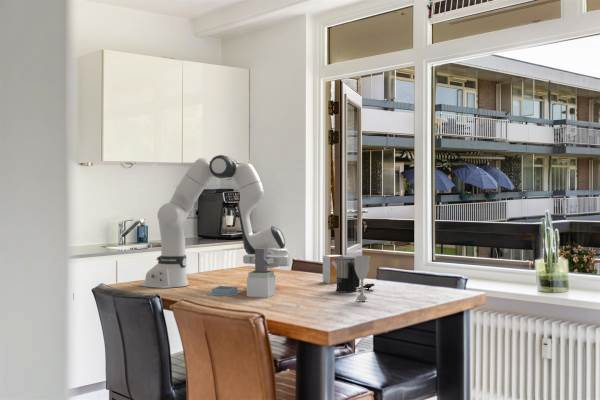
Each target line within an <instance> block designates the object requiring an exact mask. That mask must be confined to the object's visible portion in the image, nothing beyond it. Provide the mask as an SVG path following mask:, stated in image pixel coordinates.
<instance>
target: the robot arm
mask: <svg viewBox="0 0 600 400" xmlns="http://www.w3.org/2000/svg"><path fill="white" fill-rule="evenodd" d="M213 178H216V179H217V178H218V179H219V180H224V181H225V180H226V181H229V180H233V181H234V183H235V184H236V187H237V189H238V192H239V202H238V203H237V213H238V218H239V224H240V229H241V234H242V242H243V249H244V250H245V253H246V254H244V255H243V256H242V257H243V258H242V260H243V264H247V265H255V249H256V248H267V259H265V264H267V269H272V268H273V269H274V268H278V267H288V266H290V257H291V255H290V251H289V250H288V248H287V247H286V239H285V237H284V233H283V232H282V231H281V229H279V228H277V227H275V226H273V225H272V226H269V227H266V228H264V229H262V230H260V231H258V232H255V233H253V229H252V223H251V219H250V216H251V213H252V211H253V210H254V209H255V208H256V207H257V206H258V205H259V204H260V203H261V202H262V200H263V197H264V195H265V191H264V186H263V184H262V181H261V178H260V176H259V174H258V172H257V170H256V169H255V167H254V165H253V164H251V163H249V162H243V163H239V164H238V162H237V161H236V160H235V159H234V158H232V156H231V157H230V156H229V155H223V154H218V155H215V156H214V157H212V158H211V160H209V159H208V158H205V157H200V158H198V159H196V160H195V161H194V162H193V164H192V165H191V166H190V167H189V168H188V169H187V170H186V172H185V174H184V175H183V176H182V178H181V180H180V181H179V183H178V184H177V186H176V187H175V190H174V193H173V195H172V196H171V199H170V200H169V202H167V203H164V204H162V205H161V206H160V208H159V209H158V211H157V214H156V215H157V220H158V226H159V233H160V245H161V247H160V249H161V251H160V252H161V254H160V255H159V256H157V257H156V261H157V263H156V264H155V265H154V266H153V267H152V268H151V269H149V270H148V271H147V272H146V274H145V277H144V278H145V281H143V282H141V283H140V284H139V285H140V286H139V287H148V288H149V287H150V288H159V289H169V288H181V287H186V286H189V285H190V283H189V281H188V280H189V279H188V276H187V275H188V273H187V255H186V237H185V234H184V233H185V232H184V226H183V225H184V224H183V223H185V222H186V220H187V219H188V218H189V215H190V213H191V211H192V210H193V207H194V206H195V205H196V202H197V200H198V199H199V197H200V195H201V194H202V193H203V191H204V189H206V187H207V185H208V184H209V182H210V181H211V179H213Z"/></svg>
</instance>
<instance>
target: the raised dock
mask: <svg viewBox="0 0 600 400" xmlns="http://www.w3.org/2000/svg"><path fill="white" fill-rule="evenodd" d="M274 295H276V275H275V271H274V270H267V273H255V269H254V270H252V271H250V272H248V276H247V277H246V297H248V298H249V297H250V298H252V297H253V298H270V297H272V296H274Z"/></svg>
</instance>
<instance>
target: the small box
mask: <svg viewBox="0 0 600 400" xmlns="http://www.w3.org/2000/svg"><path fill="white" fill-rule="evenodd" d="M338 257H344V255H341V254H327V255H322V283H325V282H327V283H326V284H335V283H334V282H337V266H336V258H338Z"/></svg>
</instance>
